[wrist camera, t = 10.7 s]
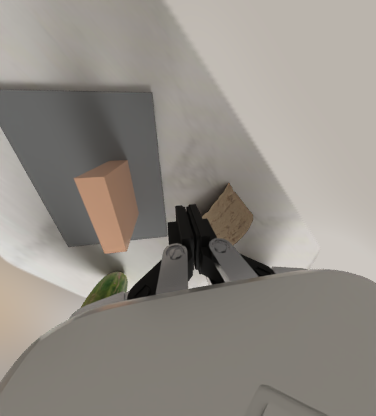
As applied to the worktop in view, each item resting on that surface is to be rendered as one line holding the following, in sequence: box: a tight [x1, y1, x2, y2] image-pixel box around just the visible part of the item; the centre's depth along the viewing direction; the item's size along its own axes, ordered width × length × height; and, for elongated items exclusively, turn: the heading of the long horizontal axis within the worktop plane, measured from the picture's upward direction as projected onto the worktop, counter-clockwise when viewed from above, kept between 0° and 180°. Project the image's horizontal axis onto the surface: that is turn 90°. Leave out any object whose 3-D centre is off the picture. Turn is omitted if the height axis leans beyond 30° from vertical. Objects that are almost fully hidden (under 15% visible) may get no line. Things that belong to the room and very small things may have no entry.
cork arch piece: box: [202, 183, 253, 245], centre depth 25 cm, size 14×10×3 cm
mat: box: [0, 90, 167, 247], centre depth 19 cm, size 20×16×1 cm
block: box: [74, 160, 139, 254], centre depth 16 cm, size 8×2×8 cm, turn 1°
